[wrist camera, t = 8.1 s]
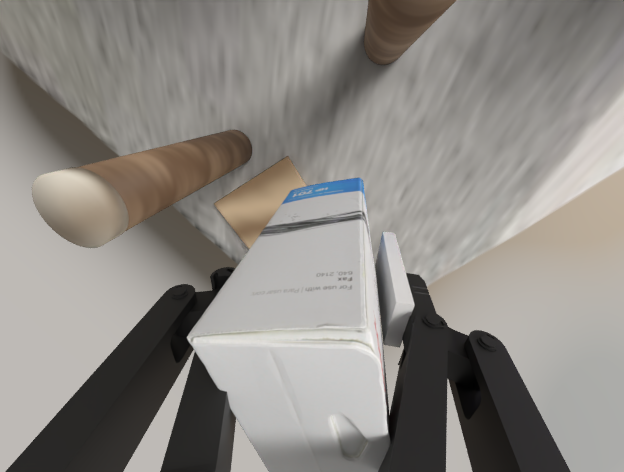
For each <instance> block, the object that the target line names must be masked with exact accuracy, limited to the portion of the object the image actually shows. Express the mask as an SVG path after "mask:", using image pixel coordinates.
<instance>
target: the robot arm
mask: <svg viewBox="0 0 624 472" xmlns="http://www.w3.org/2000/svg"><path fill="white" fill-rule="evenodd" d="M375 269H376V278H377V287H378V297H379V306H380V315H381V325H382V334H383V343H384V345H389V346H395V347H400V345H401V343H402V340H403V344H404V350H403V353H402V356H401V358H400V361H399V363H398V365H400V366H399V371H398V376H397V381H396V386H395V392H394V396H393V401H392V406H391V410H390V415H389V435H390V441H391V444H390V446H389V449H388V451H387V453H386V455H385V458H384V460H383V462H382V464H381V466H380V468H379V470H378V472H446V423H447V378H448V379H449V383H450V387H451V390H452V394H453V398H454V402H455V406H456V410H457V413H458V417H459V421H460V425H461V429H462V433H463V436H464V440H465V444H466V448H467V452H468V456H469V459H470V463H471V467H472V471H473V472H570V470H569V468H568V466H567V464H566V462H565V460H564V459H563V457H562V455H561V453H560V451H559V449H558V447H557V445H556V443H555V441H554V439H553V437H552V435H551V434H550V432H549V430H548V428H547V426H546V424H545V422H544V420H543V419H542V416H541V414H540V413H539V411H538V409H537V407H536V405H535V403H534V401H533V399H532V398H531V396H530V394H529V392H528V390H527V388H526V386H525V384H524V382H523V380H522V378H521V376H520V374H519V373H518V371H517V369H516V367H515V365H514V363H513V361H512V359H511V357H510V355H509V353H508V352H507V350H506V348H505V346H504V345H503V344H502V342H501V341H500V340H498V339H497V338H496V337H494V336H492V335H491V334H489V333H487V332H484V331H479V330H475V331H472V332H471V333H470V334H469V336H468V335H465V334H462V333H460V332H457V331H455V330H453V329H451V328H449V327H448V326H447V323H446V322H445V320H444V319H443V318H442V317H440V316H439V315H438V314H436V311H435V308H434V306H433V303H432V300H431V298H430V295H429V292H428V290H427V287H426V284H425V281H424V280H423V279H422V278H421V277H420V276H419V275H416V274H408V273H406V272H405V268H404V265H403V261H402V257H401V254H400V250H399V247H398V243H397V239H396V236H395V233H390V232H383V233H382V238H381V242H380V246H379V251H378V255H377V260H376V264H375ZM234 270H235V268H230V267H226V268H221V269H218V270H216V271H215V272H213V273H212V275H211V276H210V278H211V283H212V289H213V290H212V291H205V292H195V288H194V287H193V286H191V285H188V284H181V285H177V286H174V287H172V288H170V289H169V290H168V291H166V292H165V293H164V294H163V296H162V297H161V298H160V299H159V300H158V301H157V302H156V303H155V305H154V306H153V307H152V308H151V309H150V310H149V311H148V313H147V314H146V315H145V316H144V317H143V318H142V319H141V320H140V321H139V323H138V324H137V325H136V326H135V327H134V328H133V329H132V330H131V331H130V333H129V334H128V335H127V336H126V337H125V338H124V340H122V342H121V343H120V344H119V345H118V346H117V347H116V349H115V350H114V351H113V352H112V353H111V354H110V355H109V356H108V357H107V359H106V360H105V361H104V362H103V363H102V364H101V365H100V367H98V368H97V370H96V371H95V372H94V373H93V374H92V375H91V376H90V377H89V379H88V380H87V381H86V382H85V383H84V384H83V385H82V387H81V388H80V389H79V390H78V391H77V392H76V393H75V394H74V396H73V397H72V398H71V399H70V400H69V401H68V402H67V403H66V404H65V406H64V407H63V408H62V409H61V410H60V411H59V412H58V413H57V415H56V416H55V417H54V418H53V419H52V420H51V421H50V422H49V424H48V425H47V426H46V427H45V428H44V429H43V430H42V431H41V432H40V434H39V435H38V436H37V437H36V438H35V439H34V440H33V442H31V444H30V445H29V446H28V447H27V448H26V449H25V450H24V452H23V453H22V454H21V455H20V456H19V457H18V458H17V459H16V460H15V462H14V463H13V464H12V465H11V466H10V467H9V468H8V469H7V471H6V472H123V471H124V469H125V467H126V466H127V464H128V462H129V460H130V459H131V457H132V455H133V453H134V452H135V450H136V448H137V446H138V445H139V443H140V441H141V439H142V438H143V436H144V434H145V433H146V431H147V429H148V428H149V426H150V424H151V422H152V421H153V419H154V417H155V415H156V414H157V412H158V410H159V408H160V407H161V405H162V403H163V401H164V400H165V398H166V396H167V395H168V393H169V391H170V389H171V388H172V386H173V384H174V383H175V381H176V379H177V377H178V375H179V374H180V372H181V370H182V369H183V367H184V365H185V363H186V362H187V360H188V358H189V357H190V355H191V353H192V351H193V350H194V349H193V347H192V345H191V344H190V343H189V341H188V340H187V336H188V334H189V333H190V332H191V330H192V329H193V327H194V326H195V325H196V323H197V322H198V321H199V319H200V318H201V317H202V315H203V314H204V312H205V311H206V309H207V308H208V306H209V305H210V304H211V302H212V301H213V300H214V298H215V297H216V295H217V294H218V292H219V291H220V290H221V288H222V287H223V285H224V284H225V282H226V281H227V280H228V278H229V277H230V276H231V274H232V273H233V271H234ZM235 422H236V417H235V415H234V414H233V412H232V410H231V409H230V405H229V400H228V395H227V392H226V391H222V390H220V389H218V388H217V386H216V384H215V383H214V381H213V380H212V378H211V376H210V375H209V373H208V371H207V369H206V367H205V365H204V364H203V362H202V361H201V360H200V358H199V357H198V355H197V354H196V352H195V353H194V357H193V360H192V364H191V367H190V371H189V374H188V378H187V381H186V385H185V388H184V392H183V395H182V398H181V402H180V405H179V409H178V412H177V416H176V419H175V423H174V426H173V430H172V434H171V437H170V440H169V444H168V447H167V451H166V454H165V457H164V461H163V464H162V468H161V471H160V472H230V470H231V461H232V451H233V442H234V432H235Z"/></svg>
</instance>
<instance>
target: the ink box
mask: <svg viewBox="0 0 624 472" xmlns="http://www.w3.org/2000/svg"><path fill="white" fill-rule="evenodd" d="M187 340H188V341H189V343H190V344H191V345H192V347H193V349H194V350H195V352H196V354H197V355H198V357H199V358H200V360H201V361H202V362H203V364H204V365H205V367H206V369H207V371H208V373H209V375H210V376H211V378H212V380H213V381H214V383H215V384H216V386H217V388H218V389H220V390H222V391H226V392H227V395H228V400H229V405H230V409H231V410H232V412H233V414H234V415H235V417H236V418H237V420H238V422H239V423H240V425H241V427H242V428H243V430H244V432H245V433H246V435H247V437H248V438H249V440H250V442H251V443H252V445H253V446H254V448H255V449H256V451H257V453H258V455H259V456H260V458H261V459H262V461H263V462H264V464H265V466H266V468H267V469H268V471H269V472H378V470H379V468H380V466H381V464H382V462H383V460H384V458H385V455H386V453H387V451H388V449H389V446H390V444H391V441H390V435H389V406H388V394H387V384H386V373H385V363H384V352H383V342H382V333H381V323H380V314H379V305H378V296H377V287H376V277H375V269H374V261H373V253H372V246H371V238H370V230H369V222H368V215H367V208H366V201H365V193H364V185H363V180H362V179H361V178H353V179H347V180H340V181H333V182H327V183H321V184H315V185H310V186H306V187H301V188H297V189H294V190H291V191H290V193H289V194H288V196H287V197H286V198H285V200H284V201H283V203H282V204H281V205H280V207H279V208H278V210H277V211H276V212H275V214H274V215H273V217H272V218H271V220H270V221H269V222H268V224H267V225H266V227H265V228H264V229H263V231H262V232H261V233H260V235H259V236H258V238H257V239H256V241H255V242H254V244H253V245H252V246H251V248H250V249H249V250H248V252H247V253H246V255H245V256H244V258H243V259H242V260H241V262H240V263H239V264H238V266H237V267H236V269H235V270H234V271H233V273H232V274H231V276H230V277H229V278H228V280H227V281H226V282H225V284H224V285H223V287H222V288H221V290H220V291H219V292H218V294H217V295H216V297H215V298H214V300H213V301H212V302H211V304H210V305H209V306H208V308H207V309H206V311H205V312H204V314H203V315H202V317H201V318H200V319H199V321H198V322H197V323H196V325H195V326H194V327H193V329H192V330H191V332H190V333H189V334H188V336H187Z"/></svg>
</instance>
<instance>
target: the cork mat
mask: <svg viewBox="0 0 624 472" xmlns="http://www.w3.org/2000/svg"><path fill="white" fill-rule="evenodd" d="M301 187H306V184H305V183H304V181H303V180H302V178H301V176H300V175H299V173H298V171H297V170H296V168H295V167H294V165H293V163H292V162H291V160H290V159H289V157H288V156H287V157H286V158H284V159H282V160H281V161H279V162H278V163H276V164H275V165H273V166H272V167H270V168H268V169H267V170H265V171H264V172H262V173H261V174H259V175H258V176H256V177H254V178H253V179H251V180H250V181H248V182H247V183H245V184H244V185H242V186H240V187H239V188H237V189H236V190H234V191H233V192H231V193H230V194H228V195H226V196H225V197H223V198H222V199H220V200H219V201H217V202H216V203H214V205H215V206H216V207H217V209H218V210H219V211H220V212H221V214H222V215H223V216H224V218H225V219H226V220H227V221H228V223H229V224H230V225H231V226H232V228H233V229H234V230H235V232H236V233H237V234H238V235H239V237H240V238H241V239H242V240H243V242H244V243H245V244H246V246H247V247H248V248H249V249H250V248H251V246H252V245H253V244H254V242H255V241H256V239H257V238H258V236H259V235H260V233H261V232H262V231H263V229H264V228H265V227H266V225H267V224H268V222H269V221H270V220H271V218H272V217H273V215H274V214H275V212H276V211H277V210H278V208H279V207H280V205H281V204H282V203H283V201H284V200H285V198H286V197H287V196H288V194H289V193H290V191H291V190H294V189H297V188H301Z"/></svg>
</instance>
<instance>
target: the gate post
mask: <svg viewBox="0 0 624 472" xmlns="http://www.w3.org/2000/svg"><path fill="white" fill-rule="evenodd" d="M251 154H252V146H251V143H250V141H249V139H248V137H247V136H246V135H245V134H244V133H242V132H240V131H238V130H229V131H225V132H220V133H216V134H212V135H208V136H204V137H200V138H196V139H191V140H187V141H183V142H179V143H175V144H171V145H167V146H163V147H158V148H154V149H150V150H146V151H142V152H138V153H134V154H130V155H125V156H121V157H117V158H113V159H109V160H105V161H101V162H97V163H92V164H88V165H84V166H80V167H72V168H68V169H63V170H59V171H55V172H50V173H46V174H43V175H40V176H39V177H38V178H36V179H35V181H34V183H33V186H32V196H33V201H34V203H35V206H36V208H37V210H38V212H39V213H40V215H41V216H42V218H43V219H44V220H45V222H46V223H47V224H48V225H49V226H50V227H51V228H52V229H53V230H54V231H55V232H56V233H58V234H59V235H60V236H61V237H63V238H64V239H66V240H68V241H70V242H72V243H74V244H76V245H79V246H82V247H87V248H96V247H100V246H102V245H104V244H106V243H107V242H109V241H111V240H113V239H114V238H116V237H118V236H119V235H121V234H123V233H124V232H125V231H127V230H128V229H130V228H132V227H133V226H135V225H137V224H139V223H141V222H142V221H144V220H146V219H148V218H149V217H151V216H153V215H155V214H156V213H158V212H160V211H162V210H163V209H165V208H167V207H169V206H170V205H172V204H174V203H176V202H178V201H179V200H181V199H183V198H185V197H186V196H188V195H190V194H192V193H193V192H195V191H197V190H199V189H200V188H202V187H204V186H206V185H207V184H209V183H211V182H213V181H214V180H216V179H218V178H220V177H221V176H223V175H225V174H227V173H229V172H230V171H232V170H234V169H236V168H237V167H239V166H241V165H243V164H244V163H246V162H247V161H248V160H249V159H250V157H251Z"/></svg>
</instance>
